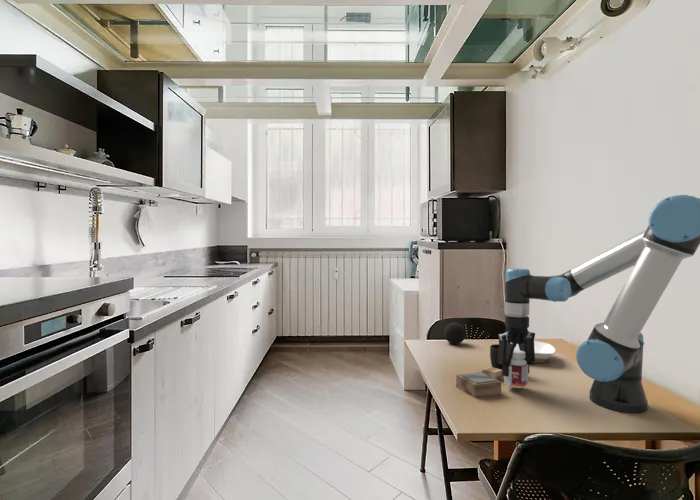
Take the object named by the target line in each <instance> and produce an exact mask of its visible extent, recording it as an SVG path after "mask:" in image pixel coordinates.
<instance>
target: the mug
mask: <svg viewBox="0 0 700 500" xmlns="http://www.w3.org/2000/svg"><path fill="white" fill-rule="evenodd" d="M489 347H490V348H489V357H490V364H491V367H494V368H497V369H501V370H502V375H503V365H501V364H498V362H497V361H498V348H499V343H497V344H491V345H490V346H489Z"/></svg>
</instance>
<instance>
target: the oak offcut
mask: <svg viewBox="0 0 700 500" xmlns="http://www.w3.org/2000/svg"><path fill="white" fill-rule="evenodd" d="M481 372H482V373H484V374H486V375H488V376H491V377H493V378H495V379H497V380H498V379H499V380H502V379H503V374H502V370H501V369H497V368H494V367H492V366H487V367H484V368H482V369H481Z"/></svg>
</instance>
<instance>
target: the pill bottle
mask: <svg viewBox="0 0 700 500" xmlns="http://www.w3.org/2000/svg"><path fill="white" fill-rule="evenodd" d="M524 358H525V352H524V351H520V350H514V352H513V355H512V359H511V363H510V366H511V367H512V387H511V388H515V389H523V388H526V387H527V385H526V373H527V362H526V360H525V359H524Z"/></svg>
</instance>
